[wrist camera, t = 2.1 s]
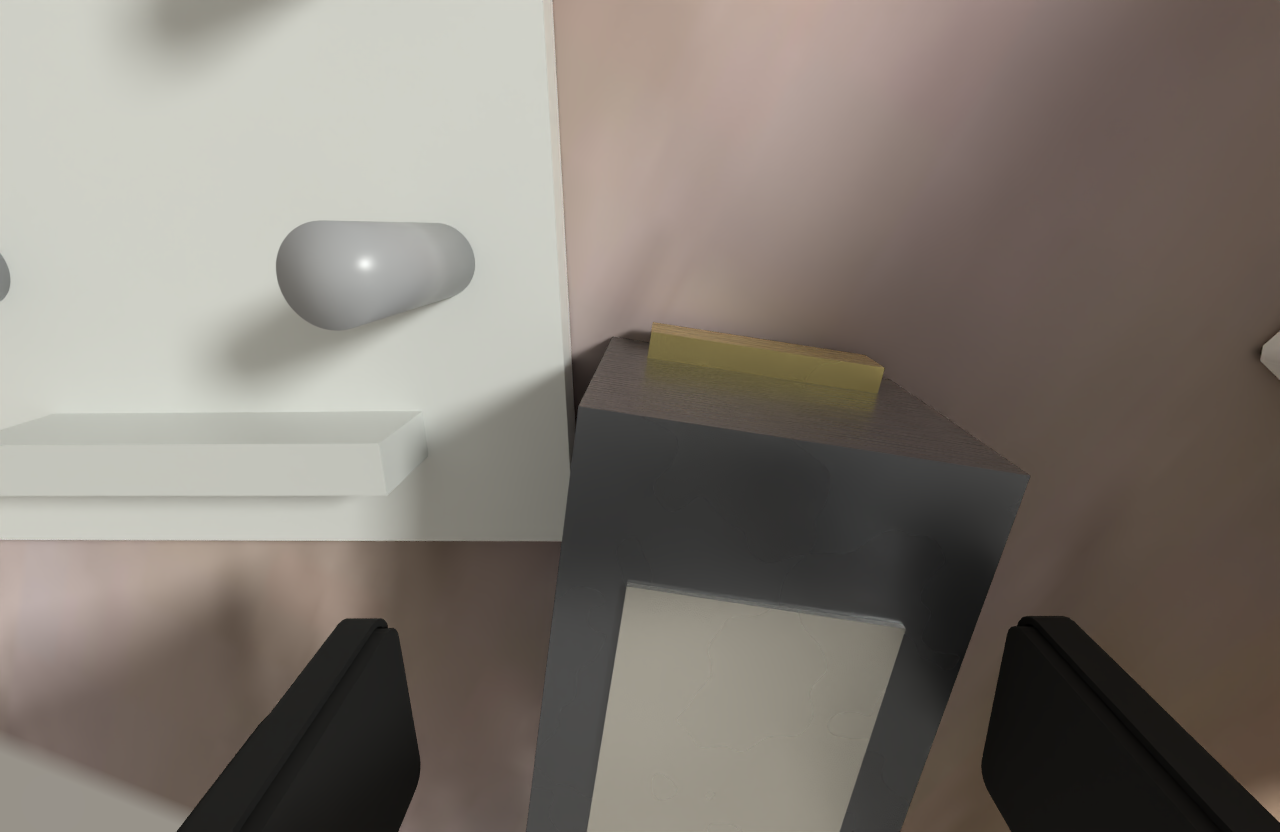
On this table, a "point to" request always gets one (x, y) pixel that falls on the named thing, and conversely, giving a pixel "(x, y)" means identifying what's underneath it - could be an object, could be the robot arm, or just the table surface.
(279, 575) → the table surface
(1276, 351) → the gable box
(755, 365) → the drive
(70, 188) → the peg fixture base
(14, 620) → the table surface
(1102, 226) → the table surface
